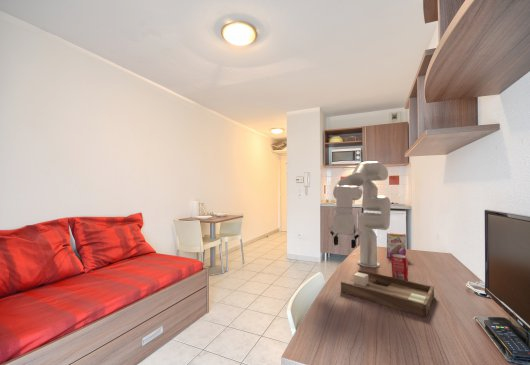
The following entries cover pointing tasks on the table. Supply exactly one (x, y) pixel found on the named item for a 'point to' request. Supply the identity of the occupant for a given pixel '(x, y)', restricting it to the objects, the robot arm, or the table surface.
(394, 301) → the board
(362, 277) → the cream block
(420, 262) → the table surface
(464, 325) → the table surface
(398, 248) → the candy bar box
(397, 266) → the red carton
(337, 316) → the table surface
